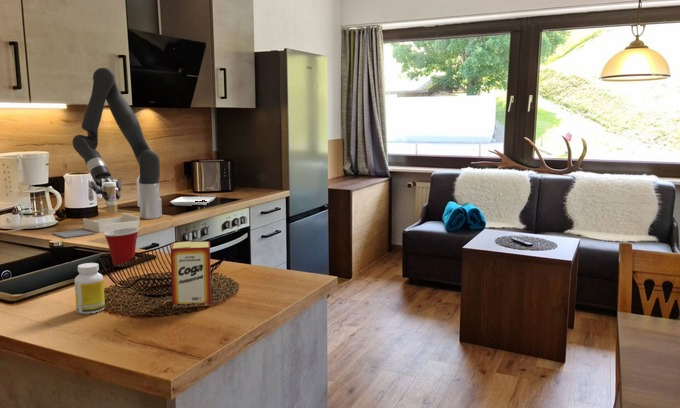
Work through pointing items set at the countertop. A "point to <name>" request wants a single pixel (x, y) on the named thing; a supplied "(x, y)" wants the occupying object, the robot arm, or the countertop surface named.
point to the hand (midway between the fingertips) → (113, 198)
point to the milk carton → (138, 192)
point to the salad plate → (191, 201)
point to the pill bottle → (89, 289)
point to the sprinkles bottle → (111, 197)
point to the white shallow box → (112, 223)
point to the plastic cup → (122, 244)
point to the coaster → (73, 233)
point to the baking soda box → (190, 272)
